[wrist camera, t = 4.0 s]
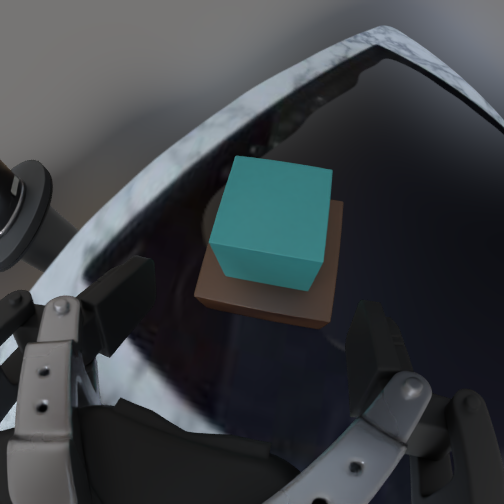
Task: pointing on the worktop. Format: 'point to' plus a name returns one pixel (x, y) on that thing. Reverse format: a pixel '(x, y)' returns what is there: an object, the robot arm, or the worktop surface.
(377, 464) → the robot arm
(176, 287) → the worktop surface
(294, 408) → the worktop surface
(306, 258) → the square toy
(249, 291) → the brown block
